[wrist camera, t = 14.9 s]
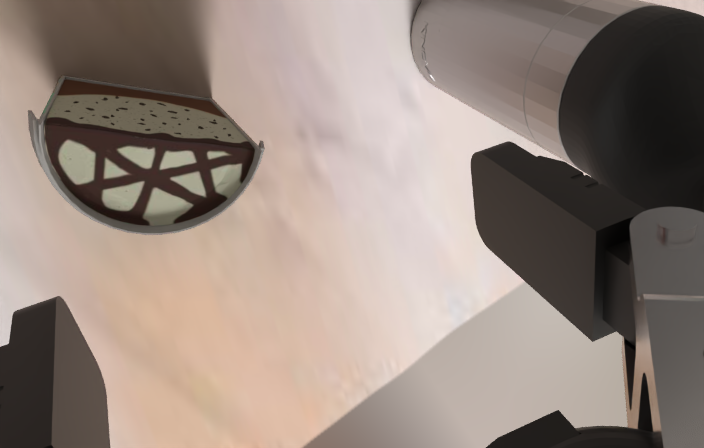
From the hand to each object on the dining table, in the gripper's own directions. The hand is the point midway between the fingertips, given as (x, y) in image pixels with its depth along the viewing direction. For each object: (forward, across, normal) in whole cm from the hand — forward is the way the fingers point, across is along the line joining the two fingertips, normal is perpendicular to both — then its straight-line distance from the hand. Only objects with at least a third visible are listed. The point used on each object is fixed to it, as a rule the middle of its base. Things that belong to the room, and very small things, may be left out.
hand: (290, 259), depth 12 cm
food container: (+33, +3, +8) cm, 34 cm away
